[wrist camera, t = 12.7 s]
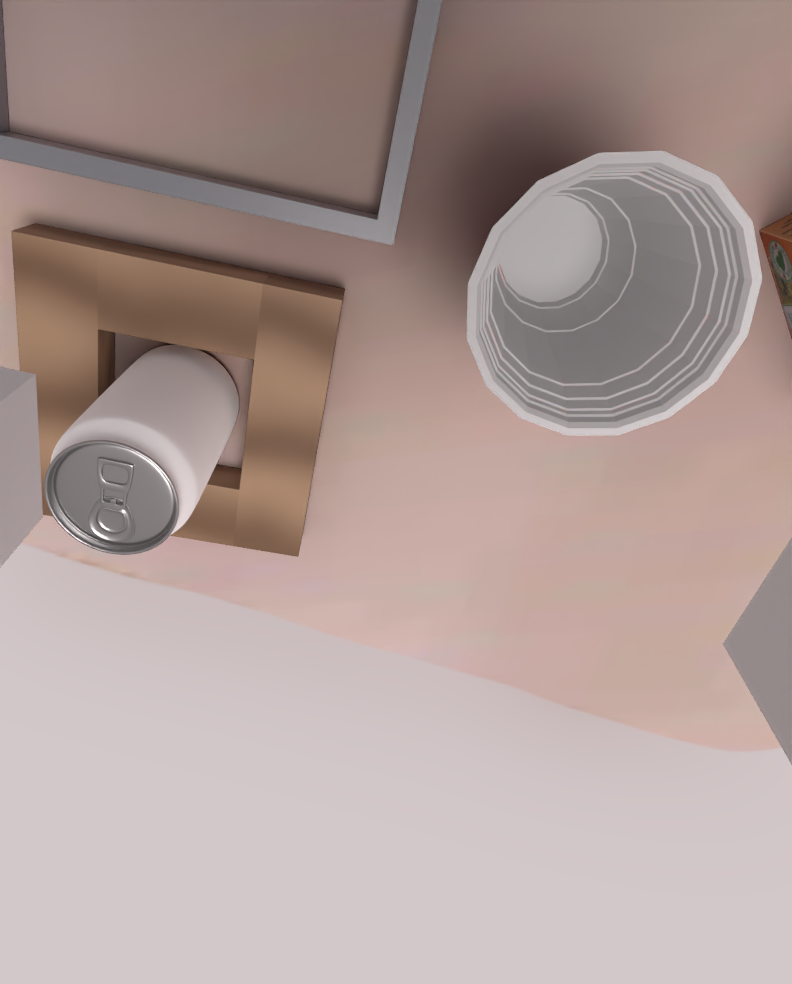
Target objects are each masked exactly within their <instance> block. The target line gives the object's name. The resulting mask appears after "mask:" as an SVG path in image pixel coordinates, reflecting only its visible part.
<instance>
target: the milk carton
mask: <svg viewBox="0 0 792 984" xmlns="http://www.w3.org/2000/svg"><path fill="white" fill-rule="evenodd" d="M759 232H760V235H761V239H762V242H763V245H764V248H765V252H766V255H767V258H768V262H769V265H770V268H771V272H772V275H773V278H774V282H775V285H776V288H777V291H778V295H779V298H780V301H781V305H782V308H783V311H784V315H785V318H786V321H787V325H788V328H789V331H790V334H791V338H792V213H791V214H789V215H787V216H786V217H784V218H782V219H780V220H778V221H776V222H775V223H773V224H771V225H769V226H767V227H765V228H764V229H762V230H760V231H759Z"/></svg>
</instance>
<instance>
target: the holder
mask: <svg viewBox="0 0 792 984" xmlns="http://www.w3.org/2000/svg"><path fill="white" fill-rule="evenodd" d="M11 233H12V249H13V265H14V281H15V297H16V314H17V330H18V346H19V362H20V371H23V372H28V373H33V374H36V388H37V408H38V428H39V448H40V468H41V488H42V509H43V515H49V516H53V515H52V514H51V512H50V510H49V508H48V505H47V502H46V499H45V494H44V480H45V475H46V472H47V469H48V467H49V465H50V461H51V456H52V453H53V450H54V448H55V446H56V444H57V442H58V441H59V439H60V438H61V437H62V435H63V434H64V433H65V432H66V431H67V430H68V428H69V427H70V426H71V425H72V424H73V423H74V422H75V421H76V420H77V419H78V418H79V417H80V416H81V415H82V414H83V413H84V412H85V411H86V410H87V409H88V408H89V407H90V406H91V405H92V404H93V403H94V402H95V401H96V400H97V399H98V398H99V397H100V396H101V395H102V394H103V393H104V392H105V391H106V390H107V389H108V388H109V387H110V386H111V385H112V384H113V383H114V349H115V333H120V334H125V335H130V336H135V337H140V338H145V339H150V340H155V341H161V342H166V343H171V344H176V345H181V346H186V347H191V348H196V349H201V350H206V351H211V352H216V353H222V354H227V355H232V356H237V357H242V358H247V359H252V360H254V366H253V375H252V384H251V393H250V402H249V410H248V419H247V428H246V437H245V445H244V454H243V463H242V469H238V468H233V467H227V466H222V465H216V466H215V468H214V470H213V472H212V475H211V477H210V479H209V481H208V483H207V485H206V487H205V489H204V491H203V493H202V495H201V497H200V499H199V501H198V503H197V505H196V507H195V509H194V511H193V512H192V514H191V516H190V517H189V519H188V520H187V521H186V522H185V524H184V525H183V526H182V527H181V528H180V529H178V530H177V531H176V532H174V533H173V534H171V535H170V536H176V537H182V538H188V539H194V540H200V541H206V542H212V543H219V544H225V545H231V546H237V547H243V548H249V549H255V550H261V551H267V552H273V553H279V554H285V555H291V556H297V557H298V555H299V550H300V545H301V540H302V535H303V529H304V523H305V517H306V511H307V506H308V500H309V494H310V488H311V482H312V477H313V471H314V465H315V459H316V453H317V448H318V442H319V436H320V430H321V425H322V419H323V413H324V407H325V401H326V396H327V390H328V384H329V378H330V372H331V367H332V361H333V355H334V349H335V343H336V338H337V332H338V326H339V320H340V314H341V309H342V303H343V297H344V291H345V289H342V288H338V287H333V286H328V285H323V284H319V283H314V282H309V281H305V280H300V279H295V278H290V277H286V276H281V275H276V274H272V273H267V272H262V271H257V270H253V269H248V268H243V267H238V266H234V265H229V264H224V263H220V262H215V261H210V260H205V259H201V258H196V257H191V256H187V255H182V254H177V253H172V252H168V251H163V250H158V249H153V248H149V247H144V246H139V245H135V244H130V243H125V242H120V241H116V240H111V239H106V238H102V237H97V236H92V235H87V234H83V233H78V232H73V231H68V230H64V229H59V228H54V227H50V226H45V225H40V224H32V225H29V226H26V227H22V228H19V229H16V230H13V231H11Z"/></svg>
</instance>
